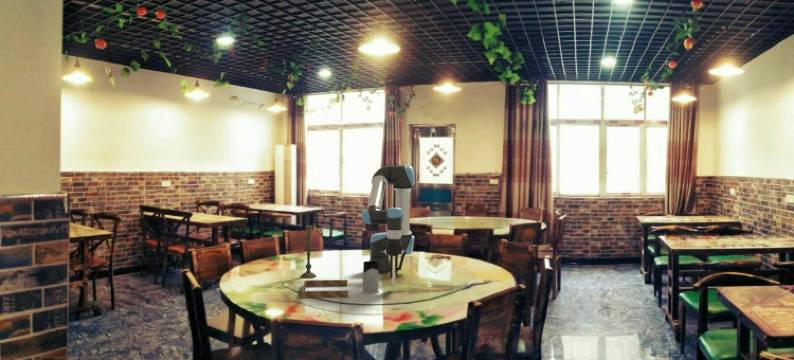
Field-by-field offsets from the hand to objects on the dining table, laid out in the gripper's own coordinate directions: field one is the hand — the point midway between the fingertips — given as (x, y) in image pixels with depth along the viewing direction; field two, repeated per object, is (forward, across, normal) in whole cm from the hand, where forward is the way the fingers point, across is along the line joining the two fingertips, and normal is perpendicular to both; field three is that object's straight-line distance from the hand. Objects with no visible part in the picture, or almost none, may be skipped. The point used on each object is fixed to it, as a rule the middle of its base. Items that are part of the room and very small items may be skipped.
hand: (393, 283), depth 250 cm
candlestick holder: (+4, -45, +35) cm, 57 cm away
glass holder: (+4, -12, 0) cm, 13 cm away
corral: (+3, -34, 0) cm, 34 cm away
